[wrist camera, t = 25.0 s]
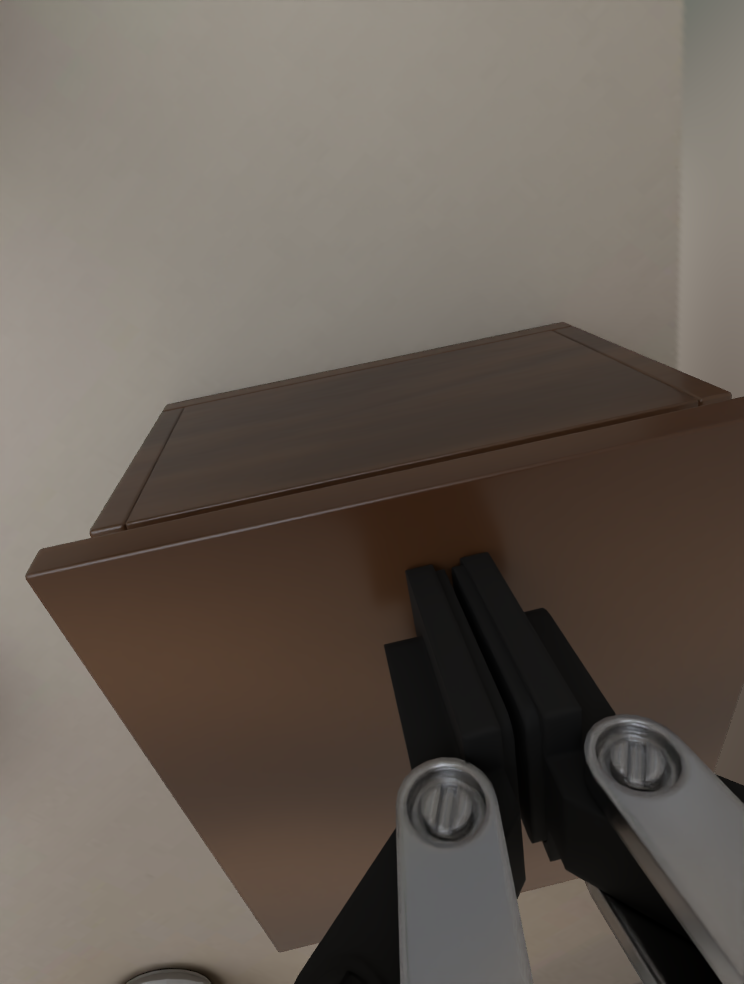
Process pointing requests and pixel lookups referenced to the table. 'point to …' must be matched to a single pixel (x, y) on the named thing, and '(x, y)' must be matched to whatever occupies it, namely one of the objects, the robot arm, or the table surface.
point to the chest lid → (401, 632)
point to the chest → (389, 420)
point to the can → (170, 977)
